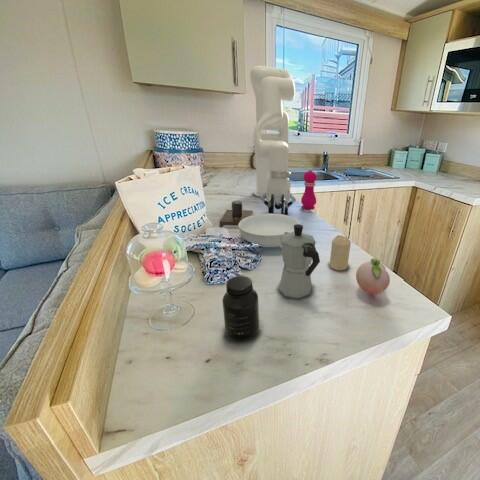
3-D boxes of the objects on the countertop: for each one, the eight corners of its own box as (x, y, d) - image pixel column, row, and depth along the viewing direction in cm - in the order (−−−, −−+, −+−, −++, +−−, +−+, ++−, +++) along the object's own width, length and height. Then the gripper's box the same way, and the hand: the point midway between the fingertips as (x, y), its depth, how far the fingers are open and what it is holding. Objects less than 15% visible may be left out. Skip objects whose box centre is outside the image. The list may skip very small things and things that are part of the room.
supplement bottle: (229, 318, 60) (225, 272, 55) (260, 318, 61) (260, 272, 56) (221, 342, 54) (216, 292, 49) (257, 342, 55) (255, 292, 50)
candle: (349, 264, 87) (353, 235, 82) (344, 272, 82) (348, 242, 78) (332, 260, 88) (335, 231, 84) (327, 268, 83) (330, 238, 79)
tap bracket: (267, 218, 118) (267, 191, 113) (288, 218, 119) (289, 192, 114) (265, 228, 107) (264, 199, 102) (288, 229, 108) (289, 200, 103)
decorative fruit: (351, 282, 77) (355, 251, 73) (379, 283, 78) (385, 252, 74) (357, 303, 69) (362, 269, 64) (389, 304, 69) (396, 270, 65)
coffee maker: (269, 281, 74) (269, 219, 67) (296, 273, 79) (299, 214, 72) (298, 312, 64) (302, 243, 56) (328, 300, 69) (335, 235, 61)
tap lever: (274, 209, 120) (274, 202, 120) (281, 210, 120) (282, 203, 121) (273, 203, 107) (273, 195, 107) (281, 203, 108) (281, 195, 108)
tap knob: (233, 213, 112) (232, 200, 110) (243, 214, 113) (242, 200, 111) (231, 217, 109) (230, 203, 106) (241, 217, 109) (241, 203, 107)
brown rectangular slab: (227, 215, 118) (226, 209, 116) (253, 216, 119) (253, 210, 118) (220, 227, 105) (219, 221, 104) (249, 228, 106) (249, 222, 105)
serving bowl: (269, 225, 111) (269, 209, 108) (310, 240, 100) (312, 223, 97) (226, 241, 95) (225, 222, 92) (270, 261, 84) (270, 241, 82)
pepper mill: (313, 213, 128) (316, 170, 120) (298, 211, 129) (300, 168, 121) (317, 208, 135) (320, 167, 126) (302, 206, 136) (304, 165, 127)
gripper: (298, 174, 118) (297, 213, 126) (258, 171, 116) (259, 212, 124) (299, 177, 112) (297, 219, 119) (256, 175, 109) (257, 218, 117)
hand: (278, 215), depth 121 cm, fingers open, 5 cm apart
